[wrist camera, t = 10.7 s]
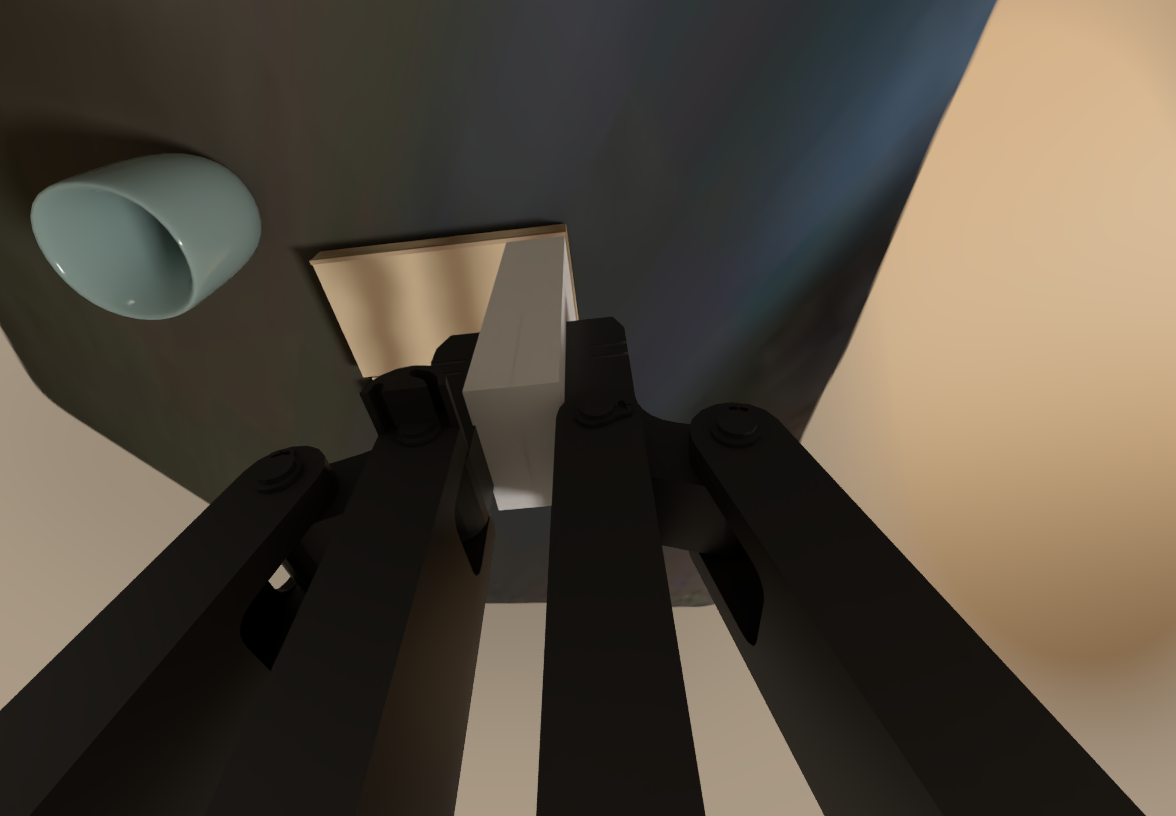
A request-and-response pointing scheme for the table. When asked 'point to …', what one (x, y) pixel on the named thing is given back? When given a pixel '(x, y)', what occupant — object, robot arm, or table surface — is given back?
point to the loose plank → (416, 293)
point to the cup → (148, 232)
